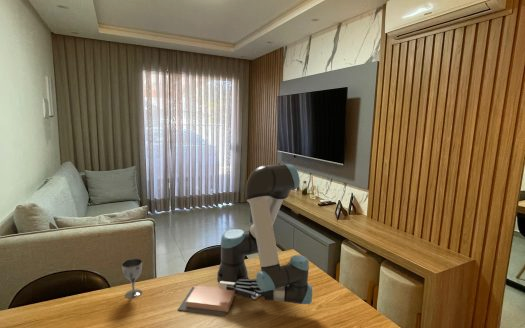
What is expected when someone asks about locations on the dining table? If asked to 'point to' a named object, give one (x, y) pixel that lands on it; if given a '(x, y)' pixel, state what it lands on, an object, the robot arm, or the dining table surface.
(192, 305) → the tile
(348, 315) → the dining table surface
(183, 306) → the mat
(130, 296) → the wine glass
